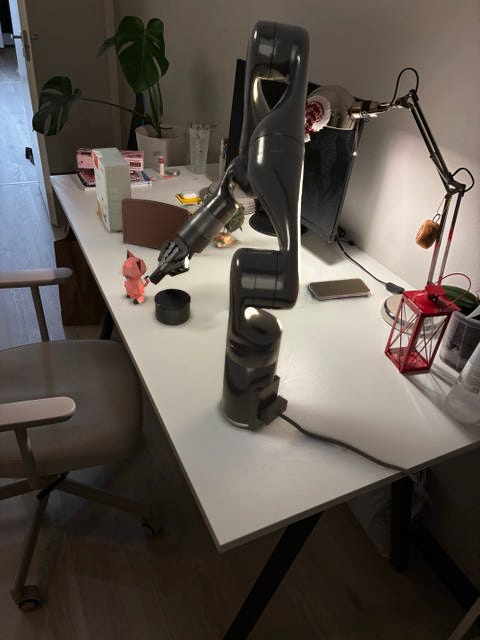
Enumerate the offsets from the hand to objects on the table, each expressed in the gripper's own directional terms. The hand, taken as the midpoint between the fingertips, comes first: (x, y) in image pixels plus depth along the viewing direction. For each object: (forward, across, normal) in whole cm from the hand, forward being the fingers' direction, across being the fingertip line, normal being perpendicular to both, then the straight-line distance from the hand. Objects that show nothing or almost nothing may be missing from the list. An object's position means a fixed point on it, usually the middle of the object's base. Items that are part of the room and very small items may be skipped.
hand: (152, 281), depth 121 cm
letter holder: (-4, -26, +11) cm, 29 cm away
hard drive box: (+2, -44, +4) cm, 44 cm away
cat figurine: (+6, 0, 0) cm, 6 cm away
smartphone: (-30, +13, +36) cm, 48 cm away
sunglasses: (-12, -41, +19) cm, 47 cm away
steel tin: (+1, +10, +4) cm, 11 cm away
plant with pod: (-17, -21, +24) cm, 36 cm away
